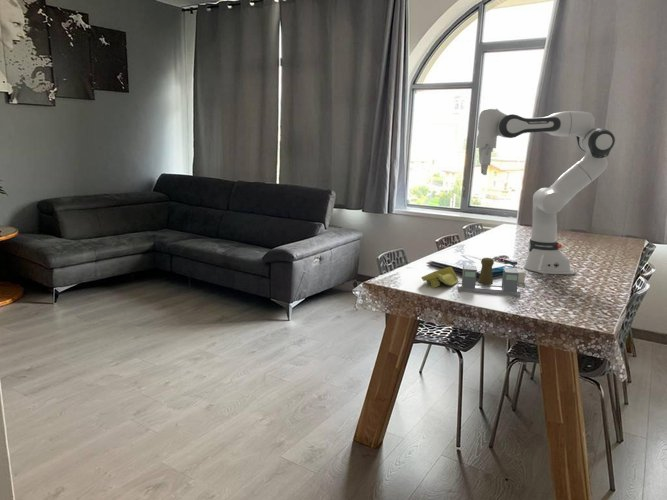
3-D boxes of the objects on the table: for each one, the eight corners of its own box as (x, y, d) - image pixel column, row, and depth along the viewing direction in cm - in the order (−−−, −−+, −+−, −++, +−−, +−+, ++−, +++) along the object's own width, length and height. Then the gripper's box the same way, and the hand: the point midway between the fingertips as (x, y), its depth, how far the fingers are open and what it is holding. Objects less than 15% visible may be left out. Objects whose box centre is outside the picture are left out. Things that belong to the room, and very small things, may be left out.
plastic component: (432, 272, 220) (453, 265, 215) (438, 287, 220) (459, 281, 215) (417, 278, 203) (439, 271, 198) (423, 295, 203) (446, 289, 198)
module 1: (474, 284, 205) (475, 265, 204) (475, 289, 198) (476, 270, 197) (461, 283, 206) (463, 264, 205) (462, 288, 199) (464, 269, 198)
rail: (517, 291, 202) (518, 286, 202) (520, 296, 195) (520, 291, 195) (457, 286, 207) (458, 282, 207) (458, 291, 200) (458, 286, 200)
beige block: (519, 280, 219) (520, 269, 218) (524, 283, 214) (525, 272, 213) (510, 280, 219) (511, 269, 218) (515, 283, 214) (516, 272, 213)
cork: (492, 281, 215) (495, 257, 213) (492, 285, 210) (495, 260, 207) (478, 280, 217) (480, 256, 215) (477, 283, 212) (480, 258, 209)
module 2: (514, 287, 202) (516, 268, 200) (516, 292, 195) (518, 273, 193) (501, 286, 203) (503, 267, 201) (503, 291, 196) (505, 272, 194)
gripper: (495, 144, 219) (492, 175, 222) (491, 144, 238) (488, 173, 241) (480, 144, 220) (478, 175, 223) (478, 144, 240) (475, 172, 243)
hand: (483, 174), depth 232 cm, fingers open, 8 cm apart
